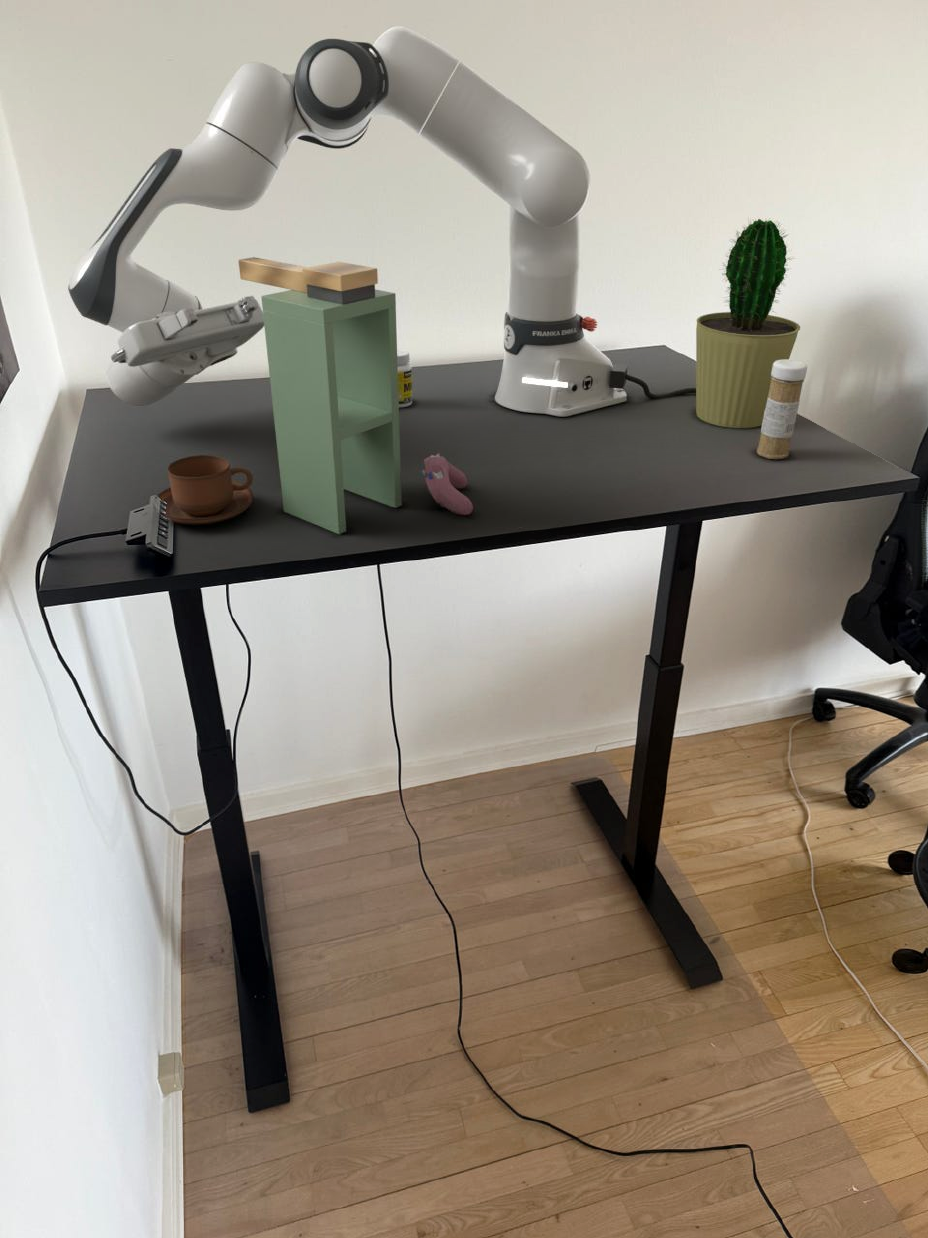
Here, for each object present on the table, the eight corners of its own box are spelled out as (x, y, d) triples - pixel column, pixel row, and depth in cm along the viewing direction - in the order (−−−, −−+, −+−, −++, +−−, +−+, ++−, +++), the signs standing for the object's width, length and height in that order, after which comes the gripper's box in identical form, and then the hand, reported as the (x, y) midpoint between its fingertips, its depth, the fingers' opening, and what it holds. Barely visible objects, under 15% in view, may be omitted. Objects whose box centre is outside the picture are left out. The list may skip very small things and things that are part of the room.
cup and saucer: (225, 485, 118) (219, 441, 115) (272, 514, 111) (267, 468, 108) (139, 509, 112) (130, 463, 108) (183, 542, 104) (174, 493, 101)
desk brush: (229, 281, 105) (226, 253, 103) (266, 274, 108) (263, 247, 107) (342, 305, 94) (340, 275, 93) (378, 296, 98) (377, 268, 96)
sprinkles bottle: (773, 447, 132) (791, 356, 125) (795, 457, 129) (815, 365, 122) (749, 452, 131) (766, 360, 124) (770, 462, 127) (789, 368, 120)
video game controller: (438, 497, 120) (414, 453, 116) (469, 482, 119) (445, 437, 115) (443, 529, 111) (417, 483, 108) (476, 513, 110) (451, 466, 107)
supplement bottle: (408, 409, 146) (407, 357, 142) (380, 407, 147) (378, 355, 142) (415, 400, 150) (414, 349, 146) (388, 398, 151) (386, 348, 146)
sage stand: (283, 511, 112) (260, 295, 98) (347, 485, 119) (333, 280, 105) (339, 534, 106) (323, 309, 93) (402, 505, 114) (395, 292, 100)
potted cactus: (801, 426, 140) (846, 220, 125) (718, 437, 136) (753, 224, 120) (743, 397, 153) (777, 206, 137) (665, 406, 148) (691, 210, 133)
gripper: (95, 339, 115) (138, 297, 105) (223, 312, 128) (273, 271, 118) (117, 386, 116) (162, 348, 106) (242, 354, 129) (293, 317, 119)
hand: (221, 308), depth 112 cm, fingers open, 8 cm apart
